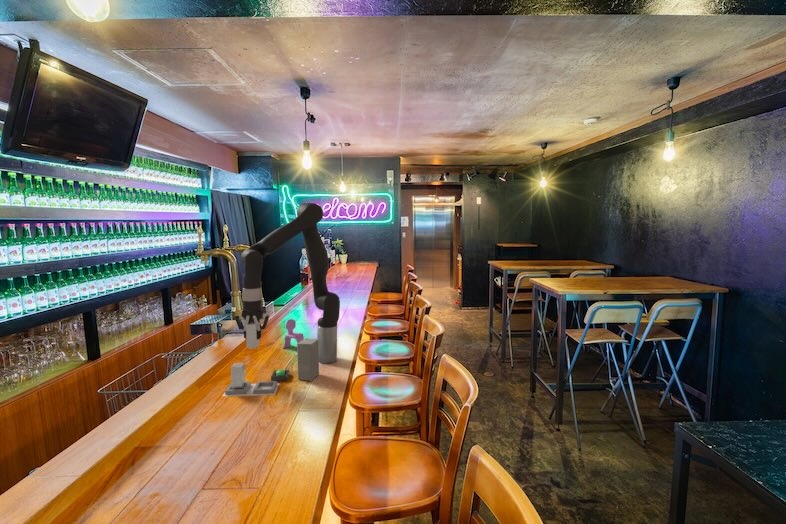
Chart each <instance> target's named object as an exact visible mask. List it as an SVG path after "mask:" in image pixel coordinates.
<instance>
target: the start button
mask: <svg viewBox="0 0 786 524" xmlns="http://www.w3.org/2000/svg"><path fill="white" fill-rule="evenodd" d="M276 370H277V369H276ZM285 370H286V369H282V368H281V369H278V370H277V371H276V376H278V375H285Z"/></svg>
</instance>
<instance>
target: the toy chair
mask: <svg viewBox="0 0 786 524" xmlns="http://www.w3.org/2000/svg"><path fill="white" fill-rule="evenodd" d="M296 324H297V322H296V320H295V319H293V318H288V319H287V320H286V322H285V325H284V326H285V329H286V330H287V334H285V337H284V344H283V347H282V349H283V350H284V349H286V348H288V347H289V346H291V343H292V342H291V339H294V340H296V343H299V342H301V340H304V339H305V336H304V333H302V332H295V331H294V329H296ZM295 352H297V348H296V350H295Z"/></svg>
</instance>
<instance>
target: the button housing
mask: <svg viewBox="0 0 786 524" xmlns="http://www.w3.org/2000/svg"><path fill="white" fill-rule="evenodd" d="M284 370H285V375H278V376H276V371H277V369H274V370H273V372H272V374H271V376H270V381H277V382H288V381H289V377H290V375H291V374H290V373H291V372H290V369H284Z"/></svg>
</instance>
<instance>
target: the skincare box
mask: <svg viewBox="0 0 786 524" xmlns="http://www.w3.org/2000/svg"><path fill="white" fill-rule="evenodd" d="M296 343H297V342H296ZM296 345H297V347H296V349H297V351H296V353H297V380H300V379H301V381H309V380H311V381H310V382H313V380H314V379H315V378H316V377H317V376H318V375H319V374H320V362H319V351H318V339H317V338H305V337H304V340H301V342H299V343H297V344H296Z"/></svg>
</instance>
